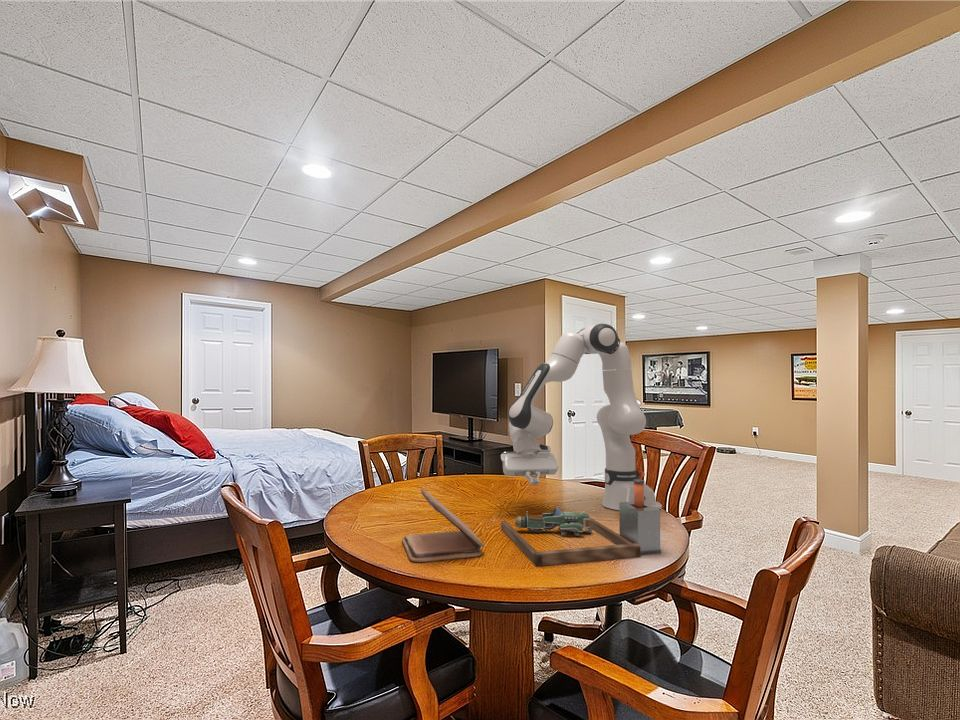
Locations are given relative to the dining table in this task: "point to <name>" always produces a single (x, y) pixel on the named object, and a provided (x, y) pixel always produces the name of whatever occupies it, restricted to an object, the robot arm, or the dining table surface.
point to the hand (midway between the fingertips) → (534, 483)
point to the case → (443, 539)
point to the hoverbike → (555, 522)
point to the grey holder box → (640, 526)
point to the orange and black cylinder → (638, 493)
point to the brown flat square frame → (578, 554)
